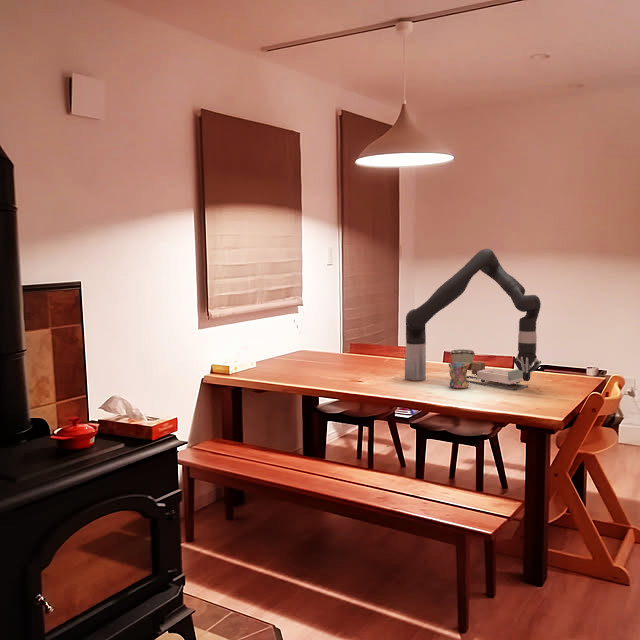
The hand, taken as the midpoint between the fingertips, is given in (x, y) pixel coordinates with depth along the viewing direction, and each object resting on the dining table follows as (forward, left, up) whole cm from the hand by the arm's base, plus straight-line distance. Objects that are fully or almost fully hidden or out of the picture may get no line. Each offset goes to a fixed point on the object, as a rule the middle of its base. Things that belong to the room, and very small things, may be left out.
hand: (526, 380), depth 278 cm
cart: (0, +13, -4) cm, 14 cm away
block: (+14, +35, -4) cm, 38 cm away
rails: (0, +18, -4) cm, 19 cm away
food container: (+19, +49, -4) cm, 53 cm away
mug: (-18, +23, -4) cm, 30 cm away
